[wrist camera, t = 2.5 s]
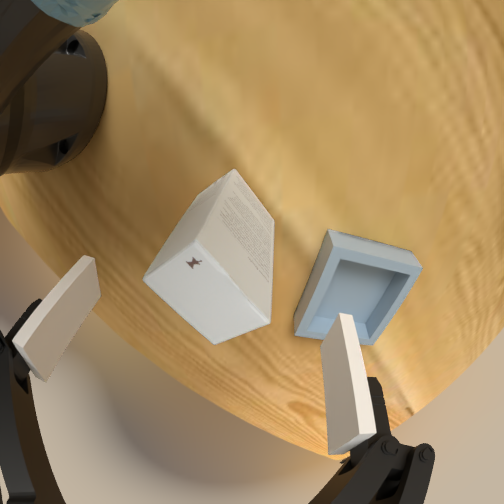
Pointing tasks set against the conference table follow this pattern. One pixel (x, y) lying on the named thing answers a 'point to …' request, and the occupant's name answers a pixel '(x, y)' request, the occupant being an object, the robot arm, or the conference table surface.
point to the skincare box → (219, 262)
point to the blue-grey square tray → (355, 286)
